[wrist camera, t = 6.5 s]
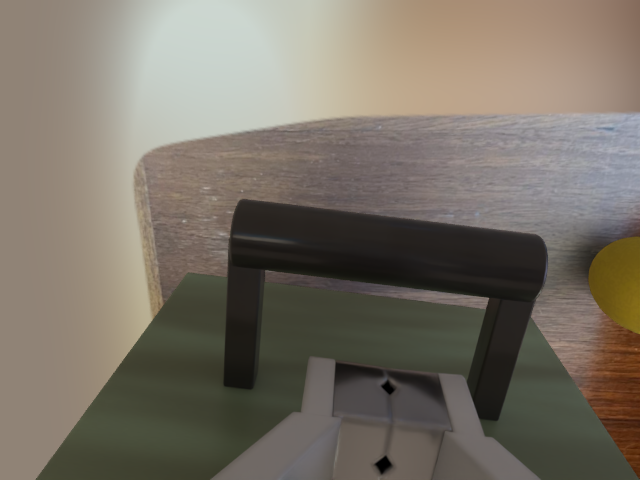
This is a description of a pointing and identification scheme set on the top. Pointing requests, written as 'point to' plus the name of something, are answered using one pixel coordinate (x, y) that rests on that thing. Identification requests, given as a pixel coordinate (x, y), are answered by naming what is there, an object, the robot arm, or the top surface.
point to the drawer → (337, 347)
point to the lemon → (618, 282)
